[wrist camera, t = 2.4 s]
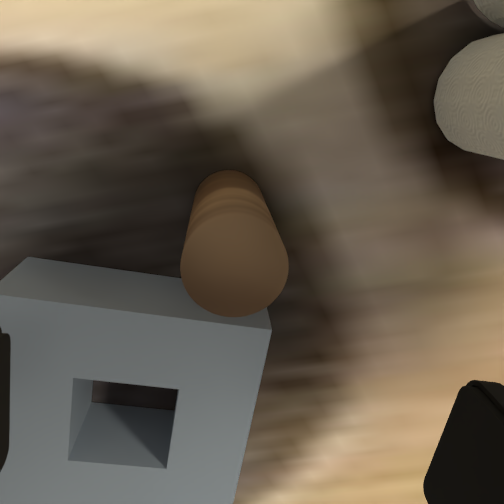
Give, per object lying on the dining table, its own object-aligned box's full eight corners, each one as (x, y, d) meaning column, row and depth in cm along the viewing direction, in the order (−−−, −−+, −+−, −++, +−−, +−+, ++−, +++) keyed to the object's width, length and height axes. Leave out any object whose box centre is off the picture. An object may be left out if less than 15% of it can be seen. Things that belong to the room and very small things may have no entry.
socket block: (27, 256, 26) (-15, 293, 21) (262, 289, 28) (272, 330, 23) (23, 446, 30) (-13, 511, 26) (225, 464, 32) (227, 528, 28)
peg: (199, 164, 25) (188, 208, 16) (269, 176, 25) (299, 225, 16) (189, 231, 26) (173, 309, 17) (256, 242, 27) (276, 323, 17)
